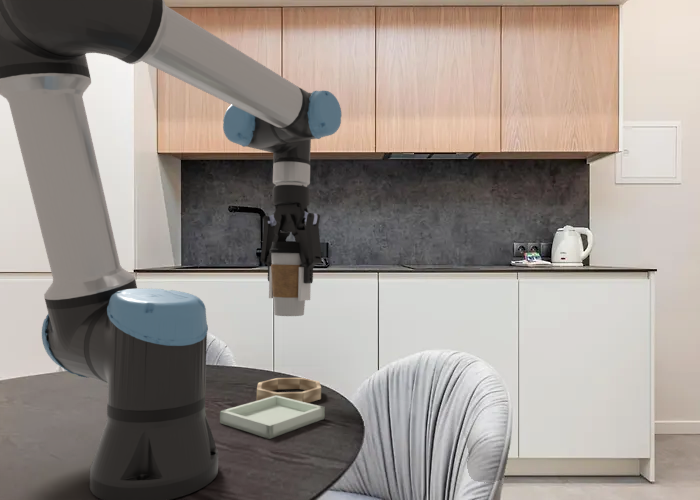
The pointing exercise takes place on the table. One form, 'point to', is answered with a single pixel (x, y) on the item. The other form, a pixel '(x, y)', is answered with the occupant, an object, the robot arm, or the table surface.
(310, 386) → the holder ring
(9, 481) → the table surface
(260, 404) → the tray
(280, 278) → the coffee cup
